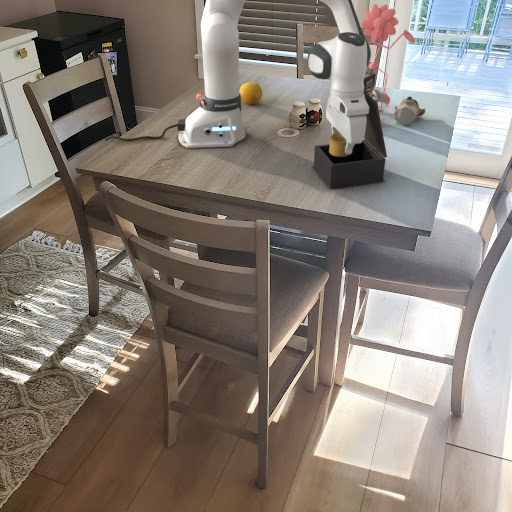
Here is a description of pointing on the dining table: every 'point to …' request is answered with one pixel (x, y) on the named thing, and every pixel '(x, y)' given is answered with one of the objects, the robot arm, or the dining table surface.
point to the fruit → (250, 93)
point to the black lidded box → (349, 166)
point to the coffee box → (369, 83)
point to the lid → (375, 122)
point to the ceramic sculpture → (407, 111)
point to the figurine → (382, 32)
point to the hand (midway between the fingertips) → (341, 146)
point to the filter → (337, 145)
